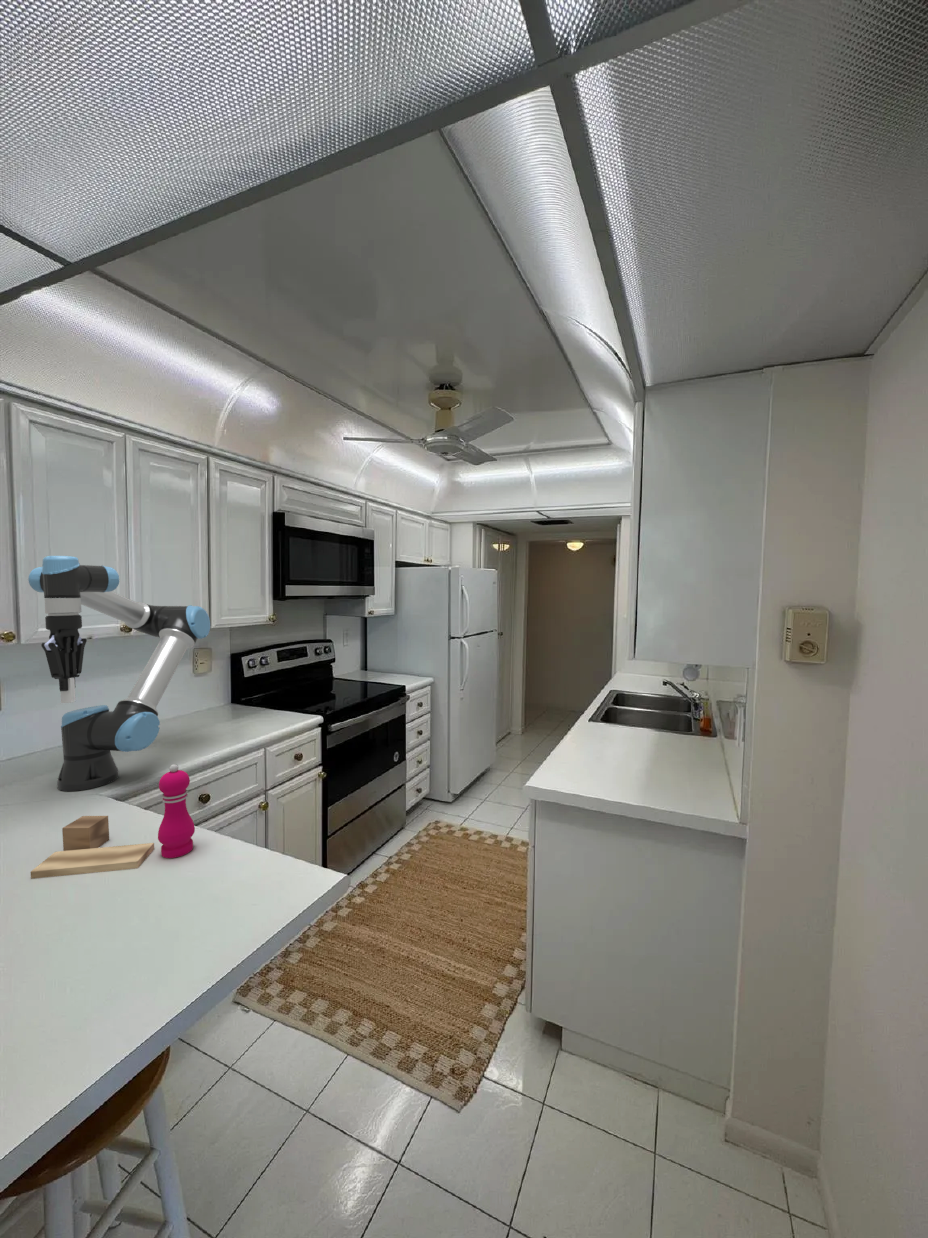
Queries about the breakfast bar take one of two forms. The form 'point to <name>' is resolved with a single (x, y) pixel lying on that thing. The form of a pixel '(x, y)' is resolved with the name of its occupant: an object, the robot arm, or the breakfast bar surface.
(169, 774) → the pepper mill
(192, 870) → the breakfast bar surface
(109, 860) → the oak board
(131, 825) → the breakfast bar surface
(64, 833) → the walnut block
